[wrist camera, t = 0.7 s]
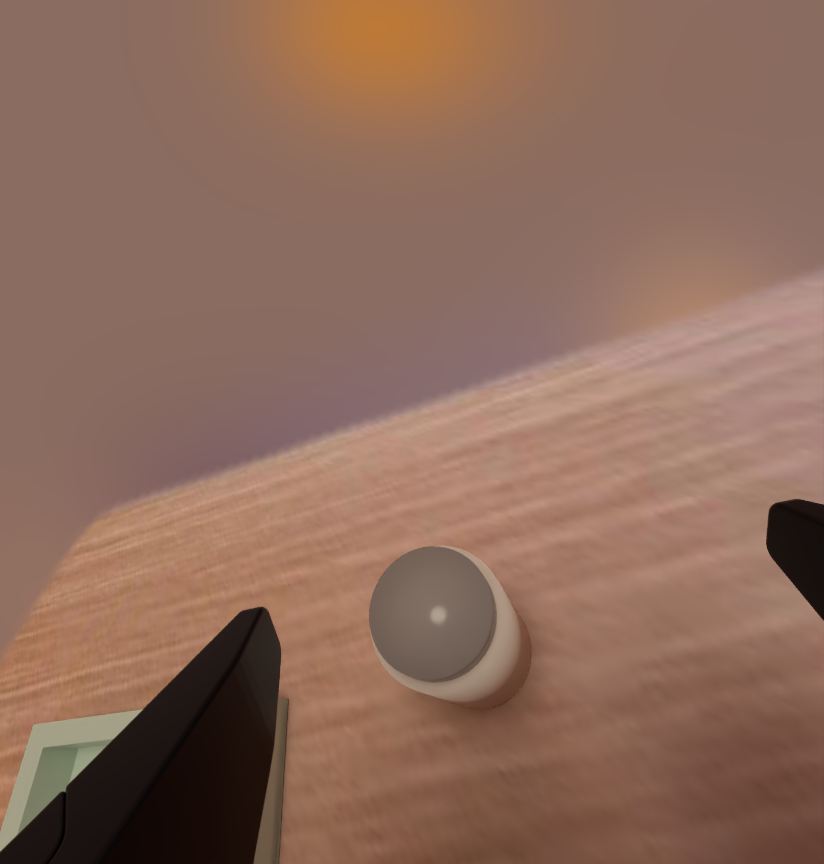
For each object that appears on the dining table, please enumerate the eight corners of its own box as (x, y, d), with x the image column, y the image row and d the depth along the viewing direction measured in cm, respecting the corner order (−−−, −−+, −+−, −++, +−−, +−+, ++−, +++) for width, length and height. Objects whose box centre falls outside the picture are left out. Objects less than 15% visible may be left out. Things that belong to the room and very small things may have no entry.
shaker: (542, 702, 19) (515, 680, 14) (431, 715, 20) (361, 700, 15) (519, 586, 22) (488, 525, 16) (421, 602, 23) (359, 551, 17)
